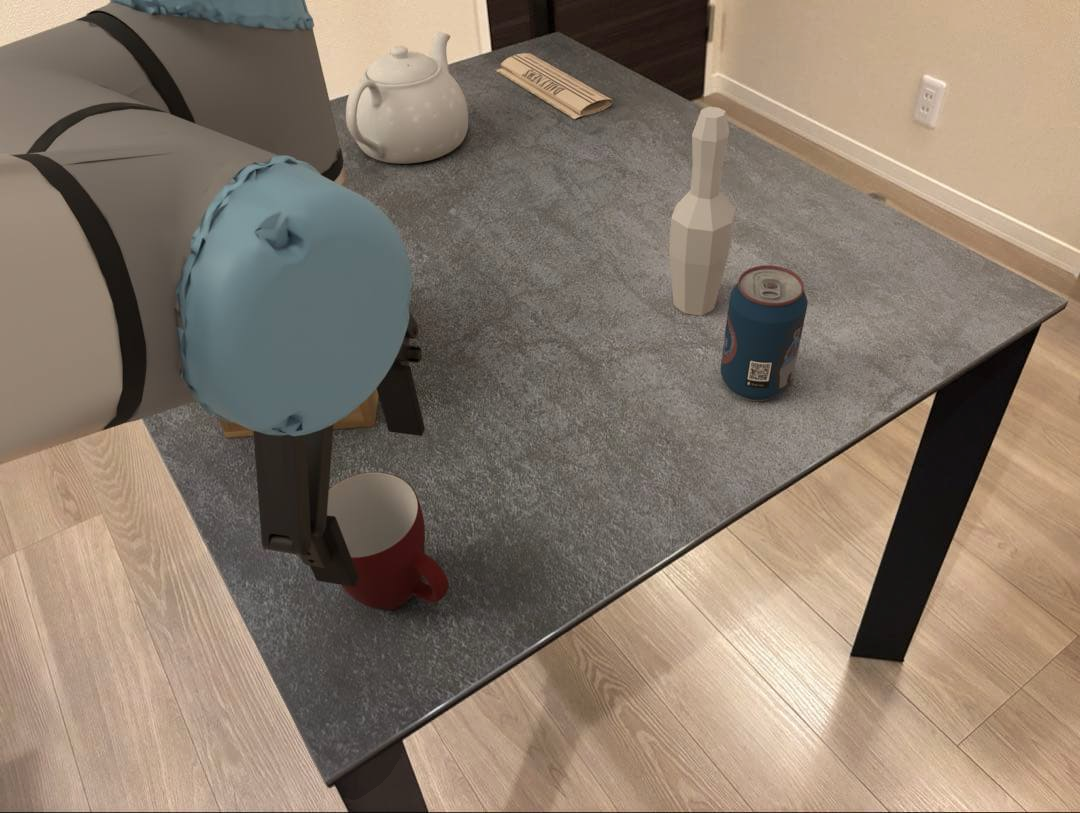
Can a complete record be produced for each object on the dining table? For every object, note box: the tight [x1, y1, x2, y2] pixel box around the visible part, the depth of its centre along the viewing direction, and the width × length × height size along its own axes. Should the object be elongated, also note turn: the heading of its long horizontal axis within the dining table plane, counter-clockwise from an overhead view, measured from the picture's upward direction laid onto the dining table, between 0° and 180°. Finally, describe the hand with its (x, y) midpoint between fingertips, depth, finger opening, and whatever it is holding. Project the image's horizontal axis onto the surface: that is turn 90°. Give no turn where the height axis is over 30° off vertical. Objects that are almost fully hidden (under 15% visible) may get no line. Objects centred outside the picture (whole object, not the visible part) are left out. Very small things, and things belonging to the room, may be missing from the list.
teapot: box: [345, 31, 469, 165], centre depth 119 cm, size 19×18×14 cm
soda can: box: [720, 265, 809, 402], centre depth 78 cm, size 7×7×12 cm
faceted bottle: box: [668, 106, 736, 317], centre depth 84 cm, size 6×6×22 cm
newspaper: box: [495, 52, 613, 120], centre depth 133 cm, size 24×7×2 cm, turn 33°
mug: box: [327, 471, 450, 611], centre depth 64 cm, size 11×8×10 cm
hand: (375, 499), depth 59 cm, fingers open, 13 cm apart
